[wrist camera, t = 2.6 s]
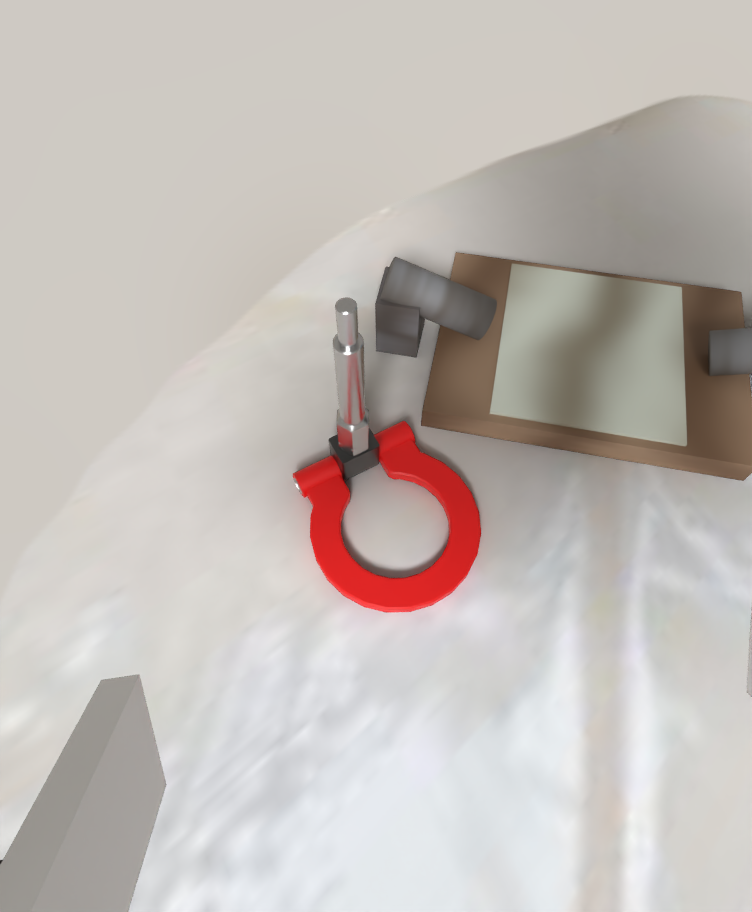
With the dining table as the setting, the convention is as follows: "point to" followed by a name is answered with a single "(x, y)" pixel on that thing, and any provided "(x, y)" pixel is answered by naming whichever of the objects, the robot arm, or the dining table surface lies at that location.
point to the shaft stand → (579, 360)
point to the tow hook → (400, 461)
